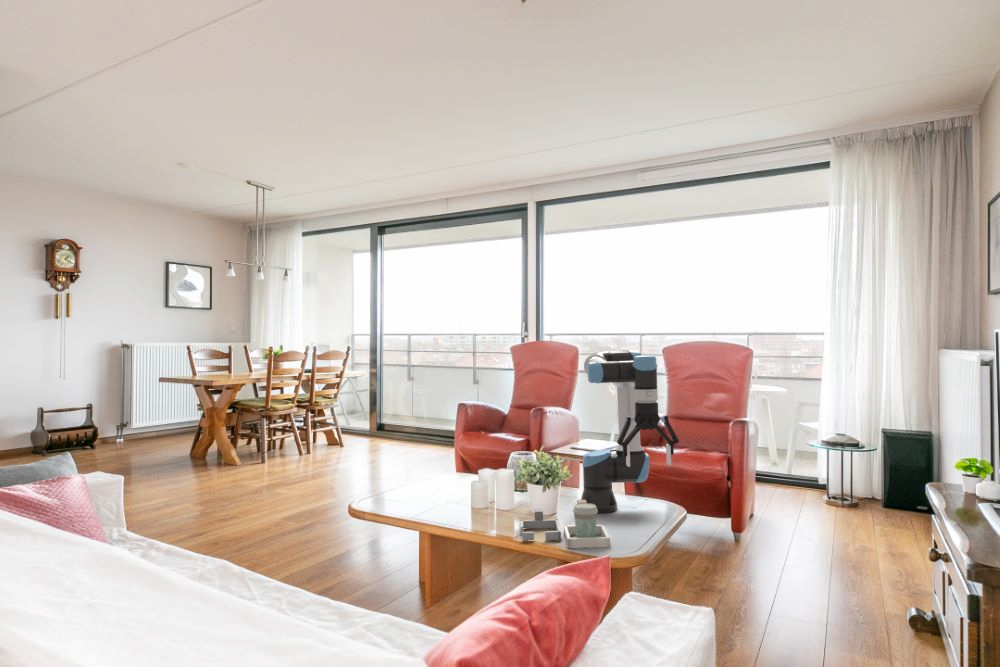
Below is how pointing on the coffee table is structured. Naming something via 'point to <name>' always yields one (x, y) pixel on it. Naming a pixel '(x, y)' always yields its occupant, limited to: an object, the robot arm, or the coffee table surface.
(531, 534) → the grey block base
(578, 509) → the coffee cup
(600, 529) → the grey tray bin
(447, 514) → the coffee table surface
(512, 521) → the coffee table surface
